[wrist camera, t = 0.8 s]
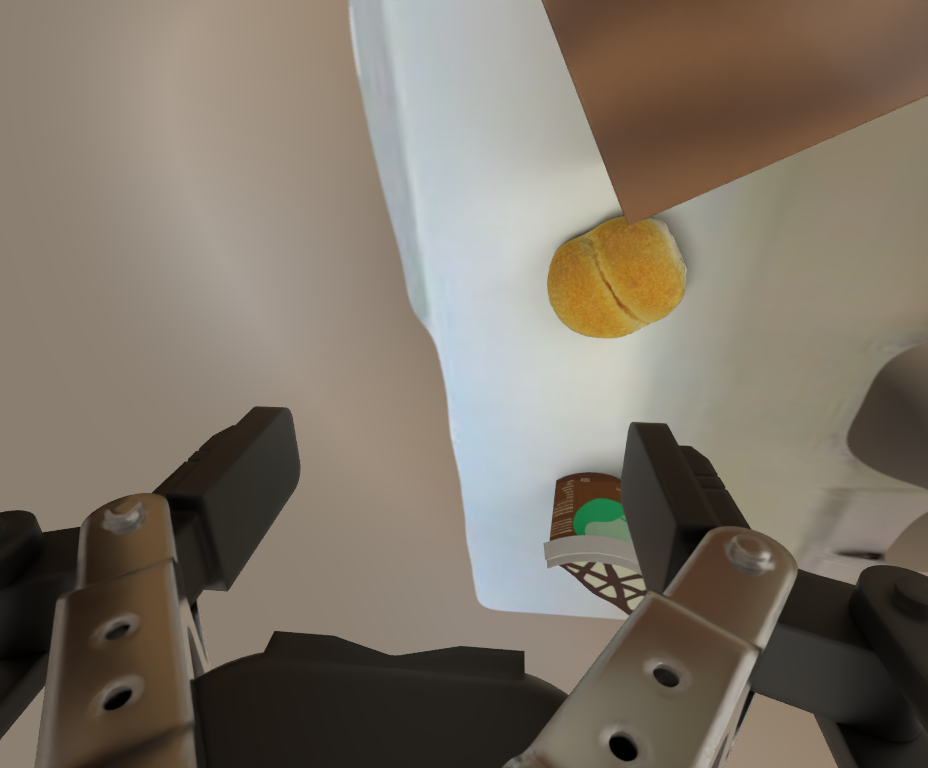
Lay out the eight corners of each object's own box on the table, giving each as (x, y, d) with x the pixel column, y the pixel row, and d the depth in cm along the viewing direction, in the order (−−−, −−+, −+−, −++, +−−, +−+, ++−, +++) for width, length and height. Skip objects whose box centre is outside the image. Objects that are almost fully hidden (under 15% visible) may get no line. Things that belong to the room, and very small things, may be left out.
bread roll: (527, 258, 36) (524, 285, 33) (651, 189, 32) (661, 211, 29) (582, 344, 40) (583, 375, 37) (699, 291, 36) (712, 321, 33)
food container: (678, 513, 50) (700, 612, 42) (626, 536, 53) (637, 631, 46) (597, 443, 46) (604, 538, 38) (545, 472, 49) (542, 565, 42)
